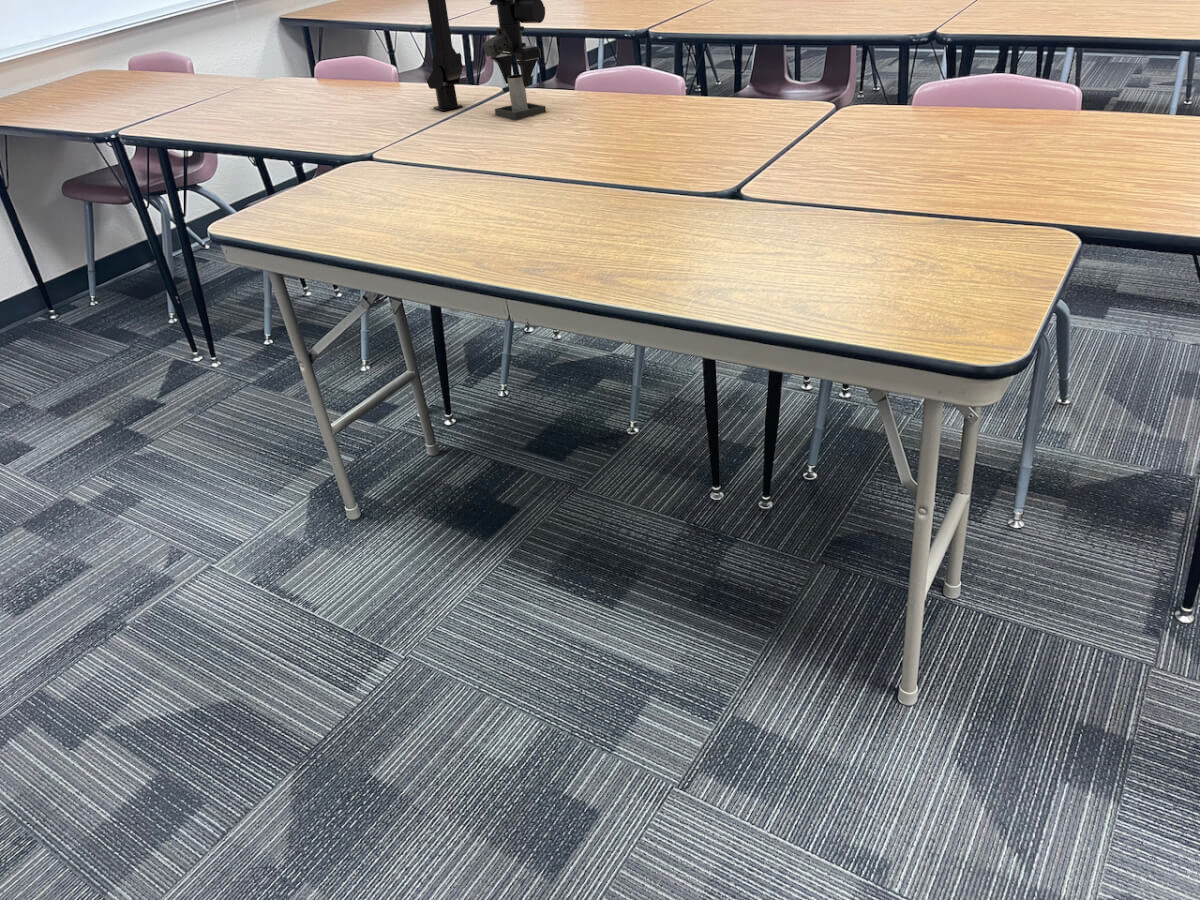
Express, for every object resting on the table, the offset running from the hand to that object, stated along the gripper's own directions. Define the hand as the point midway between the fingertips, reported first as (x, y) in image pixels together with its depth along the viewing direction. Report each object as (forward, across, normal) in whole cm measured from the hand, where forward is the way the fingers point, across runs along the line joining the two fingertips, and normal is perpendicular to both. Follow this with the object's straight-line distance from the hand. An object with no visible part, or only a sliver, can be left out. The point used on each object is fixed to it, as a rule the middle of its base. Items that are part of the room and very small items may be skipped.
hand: (516, 85), depth 238 cm
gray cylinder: (+8, 0, 0) cm, 8 cm away
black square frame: (+8, 0, 0) cm, 8 cm away
